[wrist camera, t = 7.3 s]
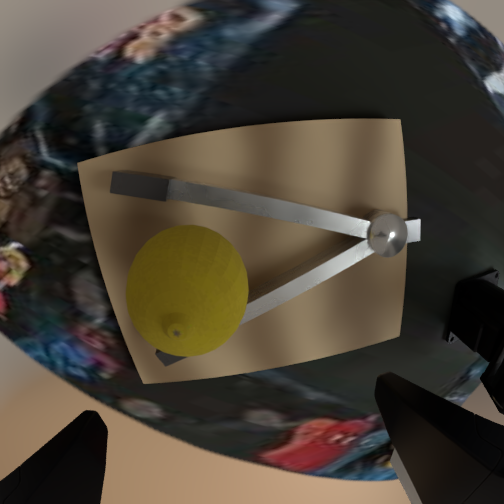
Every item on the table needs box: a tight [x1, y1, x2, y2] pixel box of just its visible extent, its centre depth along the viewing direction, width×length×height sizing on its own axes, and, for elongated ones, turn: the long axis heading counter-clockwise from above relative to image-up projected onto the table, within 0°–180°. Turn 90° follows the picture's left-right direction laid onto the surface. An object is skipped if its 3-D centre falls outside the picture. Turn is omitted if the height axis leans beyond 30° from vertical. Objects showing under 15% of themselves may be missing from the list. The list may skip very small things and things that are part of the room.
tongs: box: [110, 170, 420, 367], centre depth 16 cm, size 17×12×2 cm
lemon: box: [126, 225, 249, 357], centre depth 13 cm, size 6×6×8 cm
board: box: [77, 119, 407, 384], centre depth 18 cm, size 20×16×1 cm
